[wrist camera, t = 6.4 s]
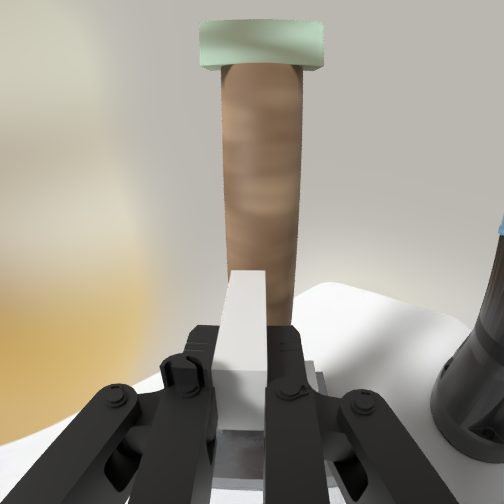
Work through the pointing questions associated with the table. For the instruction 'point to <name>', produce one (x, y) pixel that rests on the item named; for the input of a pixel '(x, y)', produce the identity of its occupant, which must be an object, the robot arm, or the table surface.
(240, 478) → the stand base
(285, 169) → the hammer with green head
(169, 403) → the robot arm
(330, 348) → the table surface
